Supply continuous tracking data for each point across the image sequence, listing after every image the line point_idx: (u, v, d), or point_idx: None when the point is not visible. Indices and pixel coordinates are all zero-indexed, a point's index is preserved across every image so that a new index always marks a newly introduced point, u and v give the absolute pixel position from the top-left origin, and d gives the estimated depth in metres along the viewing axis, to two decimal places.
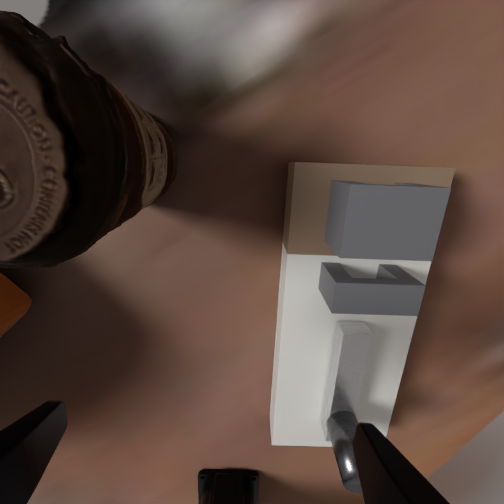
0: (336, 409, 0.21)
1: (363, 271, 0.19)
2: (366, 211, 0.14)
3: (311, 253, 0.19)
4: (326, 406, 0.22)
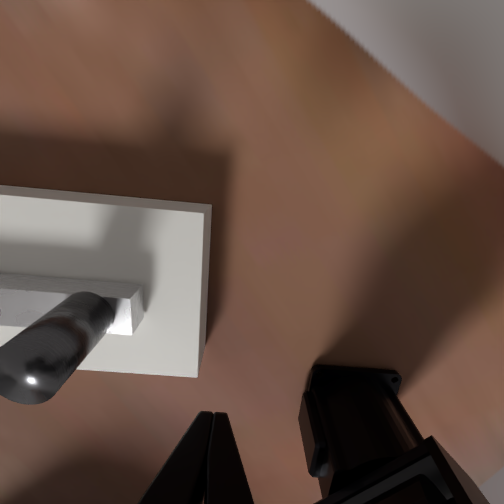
0: None
1: None
2: None
3: None
4: None
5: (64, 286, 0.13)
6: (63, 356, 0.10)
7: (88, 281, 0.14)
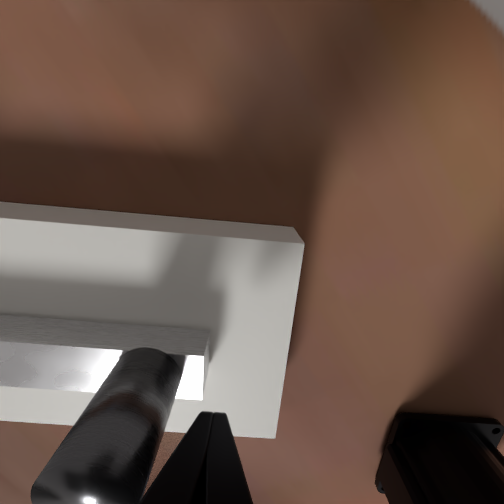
0: None
1: None
2: None
3: None
4: None
5: (115, 337, 0.10)
6: (140, 467, 0.07)
7: (142, 327, 0.11)
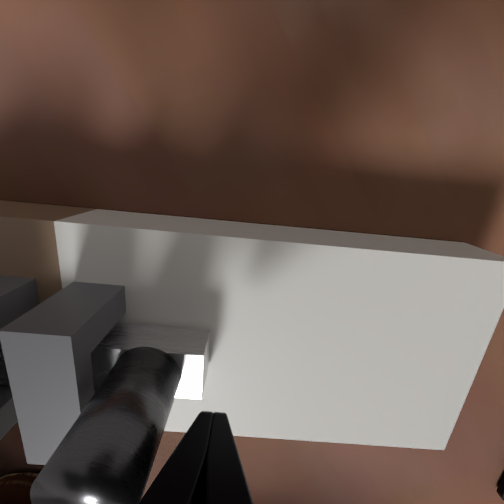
0: None
1: None
2: None
3: None
4: None
5: (115, 336, 0.10)
6: (140, 466, 0.07)
7: (142, 327, 0.11)
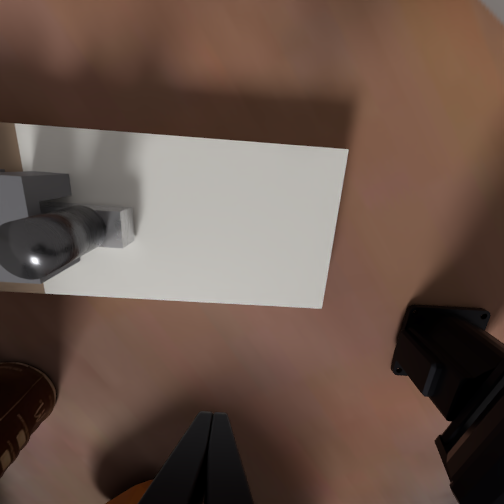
0: None
1: None
2: None
3: None
4: None
5: (60, 205, 0.15)
6: (59, 237, 0.11)
7: (82, 204, 0.15)
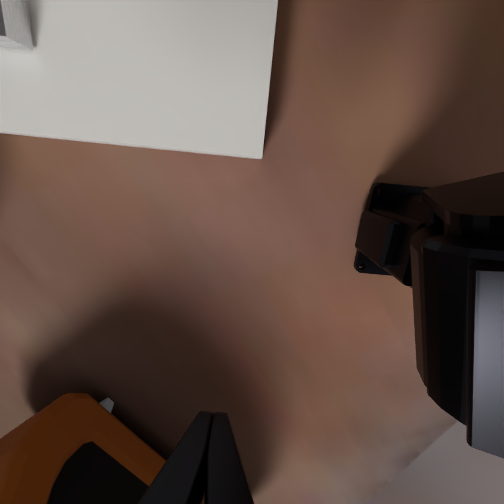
0: None
1: None
2: None
3: None
4: None
5: None
6: None
7: None
